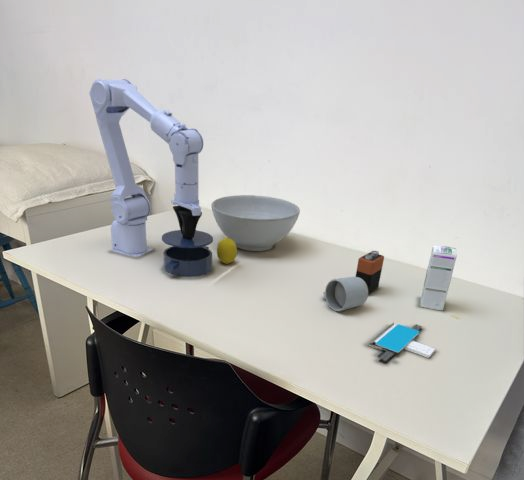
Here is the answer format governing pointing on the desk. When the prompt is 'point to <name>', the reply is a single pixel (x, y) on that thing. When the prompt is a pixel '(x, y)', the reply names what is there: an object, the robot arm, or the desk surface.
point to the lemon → (226, 250)
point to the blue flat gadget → (399, 342)
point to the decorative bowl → (254, 220)
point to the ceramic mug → (346, 293)
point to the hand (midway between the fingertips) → (187, 235)
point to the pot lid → (187, 239)
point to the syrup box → (438, 277)
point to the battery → (370, 269)
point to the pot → (182, 268)
